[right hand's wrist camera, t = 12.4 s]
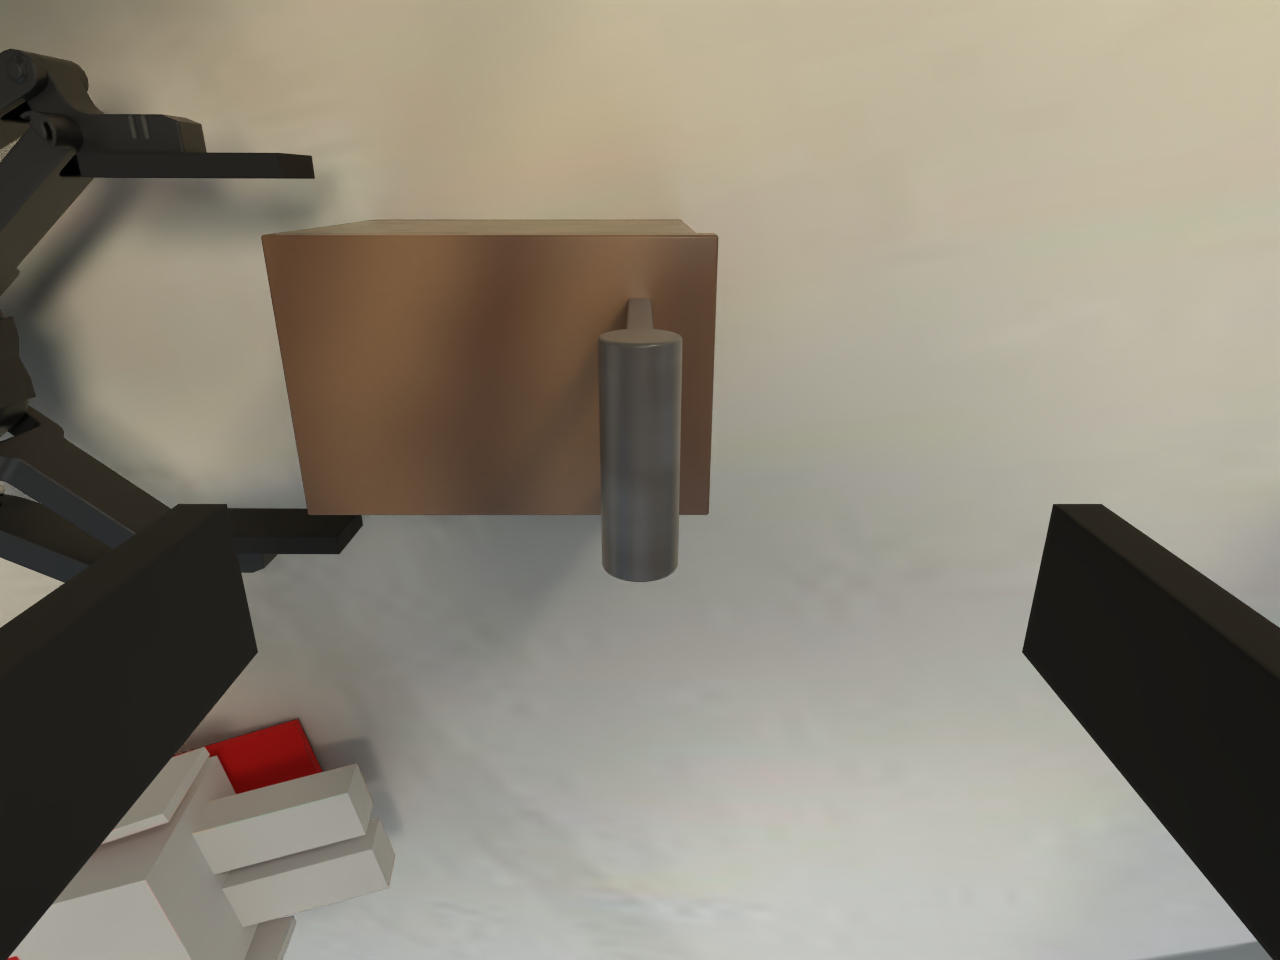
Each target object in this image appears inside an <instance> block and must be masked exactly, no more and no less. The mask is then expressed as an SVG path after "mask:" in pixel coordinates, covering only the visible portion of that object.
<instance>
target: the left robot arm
mask: <svg viewBox="0 0 1280 960" xmlns="http://www.w3.org/2000/svg"><path fill="white" fill-rule="evenodd" d="M88 87H89V86H88V78H87V76H86V74H85V72H84V71H83V70H82V68H81V67H80V66H79V65H77V64H75V63H74V62H72V61H67V60H63V59H58V58H54V57H49V56H44V55H40V54H35V53H30V52H26V51H21V50H15V49H8V50H5V51H3V52H1V53H0V149H2V148H4V147H5V146H7V145H8V144H10V143H12V142H13V141H15V140H16V139H18V138H19V137H21V136H22V137H21V138H20V139H19V141H18V142H17V143H16V144H15V145H14V147H13V148H12V149H11V150H10V151H9V153H8V154H7V155H6V156H5V158H4V159H3V160H2V161H1V162H0V296H1V295H2V293H3V292H4V291H5V290H6V289H7V288H8V287H9V285H10V284H11V283H12V282H13V281H14V280H15V278H16V277H17V276H18V275H19V270H18V269H17V266H18V265H19V264H20V263H21V261H22V260H23V259H24V258H25V257H26V256H27V254H28V253H29V252H30V251H31V250H32V249H33V248H34V246H35V245H36V244H37V243H38V242H39V241H40V240H41V238H42V237H43V236H44V235H45V234H46V233H47V231H48V230H49V229H50V228H51V227H52V226H53V225H54V223H55V222H56V221H57V220H58V219H59V218H60V216H61V215H62V214H63V213H64V212H65V211H66V210H67V208H68V207H69V206H70V205H71V204H72V203H73V201H74V200H75V199H76V198H77V197H78V196H79V195H80V193H81V192H82V191H83V190H84V189H85V188H86V187H87V185H88V184H89V183H90V182H91V181H92V180H93V178H94V177H101V178H298V179H315V177H314V170H313V162H312V156H308V155H296V154H284V153H206V147H205V142H204V136H203V131H202V125H201V124H199V123H197V122H194V121H192V120H189V119H187V118H182V117H175V116H168V115H158V114H145V115H143V114H133V115H131V114H104V113H103V112H101V111H100V110H99V109H98V108H97V107H96V106H95V105H94V103H93V102H92V101H91V99H90V97H89V95H88V93H87V90H88ZM33 397H36V396H35V392H34V389H33V385H32V382H31V378H30V376H29V374H28V373H27V371H26V369H25V367H24V365H23V364H22V362H21V360H20V358H19V337H18V333H17V330H16V326H15V323H14V319H13V317H5V316H4V314H3V313H2V311H1V310H0V437H1V436H2V435H3V434H4V433H6V432H7V431H8V432H9V433H11V434H12V435H14V437H11V438H9V439H6V440H4V441H0V481H5V482H7V483H9V484H11V485H12V486H14V487H15V488H17V489H18V490H20V491H22V492H23V493H25V494H26V495H28V496H30V497H31V498H33V499H34V500H36V501H37V502H39V503H37V502H34V501H31V500H28V499H25V498H21V497H17V496H12V495H6V494H5V490H4V487H3V486H2V485H0V557H1V558H3V559H6V560H8V561H11V562H14V563H16V564H19V565H21V566H24V567H26V568H29V569H31V570H34V571H36V572H39V573H42V574H44V575H47V576H49V577H52V578H54V579H57V580H59V581H62V582H64V583H66V582H67V581H69V580H70V579H71V578H73V577H74V576H76V575H77V574H79V573H80V572H82V571H83V570H84V569H86V568H87V567H89V566H90V565H92V564H93V563H95V562H96V561H97V560H99V559H100V558H102V557H103V556H105V555H106V554H107V553H109V552H110V551H112V550H113V549H115V548H116V547H118V546H119V545H120V544H122V543H123V542H125V541H126V540H128V539H129V538H131V537H132V536H133V535H135V534H136V533H138V532H139V531H141V530H142V529H143V528H145V527H146V526H148V525H149V524H151V523H152V522H154V521H155V520H156V519H158V518H159V517H161V516H162V515H164V514H165V513H166V512H168V511H169V510H171V509H170V508H169V507H167V506H166V505H164V504H163V503H161V502H160V501H158V500H157V499H155V498H154V497H152V496H151V495H149V494H148V493H146V492H145V491H143V490H142V489H140V488H138V487H137V486H135V485H134V484H132V483H131V482H129V481H128V480H126V479H125V478H123V477H122V476H120V475H119V474H117V473H116V472H114V471H113V470H111V469H110V468H108V467H107V466H105V465H104V464H102V463H101V462H99V461H98V460H96V459H95V458H93V457H92V456H90V455H89V454H87V453H86V452H84V451H82V450H81V449H79V448H78V447H76V446H75V445H73V444H72V443H70V442H69V441H67V440H66V439H65V438H64V431H63V429H62V428H61V427H60V426H59V425H58V424H56V423H55V422H53V421H52V420H50V419H49V418H47V417H46V416H44V415H43V414H41V413H39V412H38V411H36V410H35V409H33V408H32V407H30V406H29V405H28V402H29V399H30V398H33ZM40 503H41V504H40ZM228 513H229V518H230V522H231V527H232V532H233V537H234V541H235V546H236V551H237V556H238V560H239V565H240V570H241V572H244V573H253V572H255V571H258V570H261V569H263V568H265V567H266V566H267V565H268V564H269V563H270V562H271V561H272V560H273V559H274V558H275V557H276V556H277V555H278V554H340V553H341V551H342V550H343V549H344V548H345V547H346V545H347V544H348V543H349V542H350V540H351V539H352V538H353V537H354V535H355V534H356V533H357V532H358V531H359V529H360V528H361V527H362V526H363V523H362V516H361V515H309V514H308V510H307V509H257V508H228Z"/></svg>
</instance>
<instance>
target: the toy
mask: <svg viewBox="0 0 1280 960" xmlns="http://www.w3.org/2000/svg"><path fill="white" fill-rule="evenodd" d="M373 804H374V803H373V801H372V798H371V796H370V793H369V791H368V789H367V786H366V784H365V782H364V779H363V777H362V774H361V772H360V770H359V767H358V765H357V763H355V764H351V765H348V766H344V767H340V768H336V769H332V770H328V771H324V772H323V771H322V769H321V767H320V765H319V763H318V761H317V759H316V757H315V754H314V752H313V750H312V748H311V746H310V744H309V742H308V740H307V737H306V735H305V733H304V731H303V729H302V727H301V725H300V723H299V721H298V719H297V720H293V721H290V722H286V723H283V724H280V725H276V726H273V727H269V728H266V729H262V730H259V731H256V732H252V733H249V734H245V735H242V736H239V737H235V738H232V739H228V740H225V741H222V742H218V743H215V744H211V745H208V746H204V747H201V748H198V749H194V750H191V751H187V752H184V753H181V754H177V755H174V756H173V757H172V758H171V759H170V760H169V762H168V763H167V764H166V765H165V767H164V768H163V769H162V770H161V771H160V773H159V774H158V775H157V776H156V778H155V779H154V780H153V781H152V782H151V784H150V785H149V786H148V787H147V789H146V790H145V791H144V792H143V794H142V795H141V796H140V797H139V798H138V800H137V801H136V802H135V803H134V805H133V806H132V807H131V808H130V809H129V811H128V812H127V813H126V814H125V816H124V817H123V818H122V819H121V820H120V822H119V823H118V824H117V825H116V827H115V828H114V829H113V830H112V832H111V833H110V834H109V835H108V836H107V838H106V839H105V840H104V841H103V843H102V844H101V845H100V846H99V847H98V849H97V850H96V851H95V852H94V854H93V855H92V856H91V857H90V858H89V860H88V861H87V862H86V863H85V865H84V866H83V867H82V868H81V870H80V871H79V872H78V873H77V874H76V876H75V877H74V878H73V879H72V881H71V882H70V883H69V884H68V885H67V887H66V888H65V889H64V890H63V892H62V893H61V894H60V895H59V896H58V898H57V899H56V900H55V901H54V903H53V904H52V905H51V906H50V908H49V909H48V910H47V911H46V912H45V914H44V915H43V916H42V917H41V919H40V920H39V921H38V922H37V923H36V925H35V926H34V927H33V928H32V930H31V931H30V932H29V933H28V934H27V936H26V937H25V938H24V939H23V941H22V942H21V943H20V944H19V946H18V947H17V948H16V949H15V950H14V952H13V953H12V954H11V955H10V957H9V958H8V959H7V960H283V958H284V955H285V952H286V950H287V947H288V944H289V942H290V939H291V936H292V933H293V931H294V928H295V925H296V921H295V918H294V916H289V917H284V916H287V915H291V914H295V913H298V912H302V911H306V910H310V909H313V908H317V907H321V906H324V905H328V904H332V903H336V902H339V901H343V900H347V899H350V898H354V897H358V896H362V895H365V894H369V893H373V892H376V891H380V890H384V889H387V888H389V884H390V879H391V874H392V870H393V865H394V860H395V853H394V851H393V848H392V846H391V844H390V841H389V839H388V836H387V834H386V832H385V829H384V827H383V825H382V822H381V820H380V818H376V819H372V820H369V819H370V816H371V812H372V808H373ZM280 917H284V918H280ZM276 918H278V919H276ZM272 919H273V920H272Z"/></svg>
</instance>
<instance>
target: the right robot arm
mask: <svg viewBox="0 0 1280 960" xmlns="http://www.w3.org/2000/svg"><path fill="white" fill-rule="evenodd" d="M257 653H258V651H257V646H256V641H255V636H254V632H253V627H252V622H251V617H250V613H249V608H248V603H247V598H246V594H245V589H244V584H243V579H242V575H241V570H240V565H239V560H238V556H237V551H236V546H235V541H234V537H233V532H232V527H231V522H230V518H229V513H228V508H227V504H178V505H177V506H175V507H174V508H172V509H171V510H169V511H168V512H166V513H165V514H164V515H162V516H161V517H159V518H158V519H156V520H155V521H154V522H152V523H151V524H149V525H148V526H146V527H145V528H143V529H142V530H141V531H139V532H138V533H136V534H135V535H133V536H132V537H131V538H129V539H128V540H126V541H125V542H123V543H122V544H120V545H119V546H118V547H116V548H115V549H113V550H112V551H110V552H109V553H107V554H106V555H105V556H103V557H102V558H100V559H99V560H97V561H96V562H95V563H93V564H92V565H90V566H89V567H87V568H86V569H84V570H83V571H82V572H80V573H79V574H77V575H76V576H74V577H73V578H71V579H70V580H69V581H67V582H66V583H64V584H63V585H61V586H60V587H59V588H57V589H56V590H54V591H53V592H51V593H50V594H48V595H47V596H46V597H44V598H43V599H41V600H40V601H38V602H37V603H35V604H34V605H33V606H31V607H30V608H28V609H27V610H25V611H24V612H23V613H21V614H20V615H18V616H17V617H15V618H14V619H12V620H11V621H10V622H8V623H7V624H5V625H4V626H2V627H1V628H0V960H7V959H8V958H9V957H10V955H11V954H12V953H13V952H14V950H15V949H16V948H17V947H18V946H19V944H20V943H21V942H22V941H23V939H24V938H25V937H26V936H27V934H28V933H29V932H30V931H31V930H32V928H33V927H34V926H35V925H36V923H37V922H38V921H39V920H40V919H41V917H42V916H43V915H44V914H45V912H46V911H47V910H48V909H49V908H50V906H51V905H52V904H53V903H54V901H55V900H56V899H57V898H58V896H59V895H60V894H61V893H62V892H63V890H64V889H65V888H66V887H67V885H68V884H69V883H70V882H71V881H72V879H73V878H74V877H75V876H76V874H77V873H78V872H79V871H80V870H81V868H82V867H83V866H84V865H85V863H86V862H87V861H88V860H89V858H90V857H91V856H92V855H93V854H94V852H95V851H96V850H97V849H98V847H99V846H100V845H101V844H102V843H103V841H104V840H105V839H106V838H107V836H108V835H109V834H110V833H111V832H112V830H113V829H114V828H115V827H116V825H117V824H118V823H119V822H120V820H121V819H122V818H123V817H124V816H125V814H126V813H127V812H128V811H129V809H130V808H131V807H132V806H133V805H134V803H135V802H136V801H137V800H138V798H139V797H140V796H141V795H142V794H143V792H144V791H145V790H146V789H147V787H148V786H149V785H150V784H151V782H152V781H153V780H154V779H155V778H156V776H157V775H158V774H159V773H160V771H161V770H162V769H163V768H164V767H165V765H166V764H167V763H168V762H169V760H170V759H171V758H172V757H173V756H174V754H175V753H176V752H177V751H178V749H179V748H180V747H181V746H182V744H183V743H184V742H185V741H186V740H187V738H188V737H189V736H190V735H191V733H192V732H193V731H194V730H195V729H196V727H197V726H198V725H199V724H200V722H201V721H202V720H203V719H204V718H205V716H206V715H207V714H208V713H209V711H210V710H211V709H212V708H213V706H214V705H215V704H216V703H217V702H218V700H219V699H220V698H221V697H222V695H223V694H224V693H225V692H226V691H227V689H228V688H229V687H230V686H231V684H232V683H233V682H234V681H235V680H236V678H237V677H238V676H239V675H240V673H241V672H242V671H243V670H244V668H245V667H246V666H247V665H248V664H249V662H250V661H251V660H252V659H253V657H254V656H255V655H256V654H257ZM1022 653H1023V654H1024V655H1025V656H1026V657H1027V659H1028V660H1029V661H1030V662H1031V664H1032V665H1033V666H1034V667H1035V668H1036V670H1037V671H1038V672H1039V673H1040V675H1041V676H1042V677H1043V678H1044V680H1045V681H1046V682H1047V683H1048V684H1049V686H1050V687H1051V688H1052V689H1053V691H1054V692H1055V693H1056V694H1057V695H1058V697H1059V698H1060V699H1061V700H1062V702H1063V703H1064V704H1065V705H1066V706H1067V708H1068V709H1069V710H1070V711H1071V713H1072V714H1073V715H1074V716H1075V718H1076V719H1077V720H1078V721H1079V722H1080V724H1081V725H1082V726H1083V727H1084V729H1085V730H1086V731H1087V732H1088V733H1089V735H1090V736H1091V737H1092V738H1093V740H1094V741H1095V742H1096V743H1097V744H1098V746H1099V747H1100V748H1101V749H1102V751H1103V752H1104V753H1105V754H1106V756H1107V757H1108V758H1109V759H1110V760H1111V762H1112V763H1113V764H1114V765H1115V767H1116V768H1117V769H1118V770H1119V771H1120V773H1121V774H1122V775H1123V776H1124V778H1125V779H1126V780H1127V781H1128V782H1129V784H1130V785H1131V786H1132V787H1133V789H1134V790H1135V791H1136V792H1137V794H1138V795H1139V796H1140V797H1141V798H1142V800H1143V801H1144V802H1145V803H1146V805H1147V806H1148V807H1149V808H1150V809H1151V811H1152V812H1153V813H1154V814H1155V816H1156V817H1157V818H1158V819H1159V820H1160V822H1161V823H1162V824H1163V825H1164V827H1165V828H1166V829H1167V830H1168V832H1169V833H1170V834H1171V835H1172V836H1173V838H1174V839H1175V840H1176V841H1177V843H1178V844H1179V845H1180V846H1181V847H1182V849H1183V850H1184V851H1185V852H1186V854H1187V855H1188V856H1189V857H1190V858H1191V860H1192V861H1193V862H1194V863H1195V865H1196V866H1197V867H1198V868H1199V870H1200V871H1201V872H1202V873H1203V874H1204V876H1205V877H1206V878H1207V879H1208V881H1209V882H1210V883H1211V884H1212V885H1213V887H1214V888H1215V889H1216V890H1217V892H1218V893H1219V894H1220V895H1221V896H1222V898H1223V899H1224V900H1225V901H1226V903H1227V904H1228V905H1229V906H1230V908H1231V909H1232V910H1233V911H1234V912H1235V914H1236V915H1237V916H1238V917H1239V919H1240V920H1241V921H1242V922H1243V923H1244V925H1245V926H1246V927H1247V928H1248V930H1249V931H1250V932H1251V933H1252V934H1253V936H1254V937H1255V938H1256V939H1257V941H1258V942H1259V943H1260V944H1261V946H1262V947H1263V948H1264V949H1265V950H1266V952H1267V953H1268V954H1269V955H1270V957H1271V958H1272V959H1273V960H1280V628H1279V627H1278V626H1276V625H1275V624H1273V623H1272V622H1270V621H1269V620H1268V619H1266V618H1265V617H1263V616H1262V615H1260V614H1259V613H1257V612H1256V611H1255V610H1253V609H1252V608H1250V607H1249V606H1247V605H1246V604H1245V603H1243V602H1242V601H1240V600H1239V599H1237V598H1236V597H1234V596H1233V595H1232V594H1230V593H1229V592H1227V591H1226V590H1224V589H1223V588H1221V587H1220V586H1219V585H1217V584H1216V583H1214V582H1213V581H1211V580H1210V579H1209V578H1207V577H1206V576H1204V575H1203V574H1201V573H1200V572H1198V571H1197V570H1196V569H1194V568H1193V567H1191V566H1190V565H1188V564H1187V563H1185V562H1184V561H1183V560H1181V559H1180V558H1178V557H1177V556H1175V555H1174V554H1173V553H1171V552H1170V551H1168V550H1167V549H1165V548H1164V547H1162V546H1161V545H1160V544H1158V543H1157V542H1155V541H1154V540H1152V539H1151V538H1149V537H1148V536H1147V535H1145V534H1144V533H1142V532H1141V531H1139V530H1138V529H1137V528H1135V527H1134V526H1132V525H1131V524H1129V523H1128V522H1126V521H1125V520H1124V519H1122V518H1121V517H1119V516H1118V515H1116V514H1115V513H1113V512H1112V511H1111V510H1109V509H1108V508H1106V507H1105V506H1103V505H1102V504H1053V508H1052V513H1051V518H1050V522H1049V527H1048V532H1047V537H1046V541H1045V546H1044V551H1043V556H1042V560H1041V565H1040V570H1039V575H1038V579H1037V584H1036V589H1035V594H1034V598H1033V603H1032V608H1031V613H1030V617H1029V622H1028V627H1027V632H1026V636H1025V641H1024V646H1023V651H1022Z"/></svg>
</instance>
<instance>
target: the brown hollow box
mask: <svg viewBox="0 0 1280 960" xmlns="http://www.w3.org/2000/svg"><path fill="white" fill-rule="evenodd" d="M282 233H696V232H694V231H693V230H692V229H691V228H690V227H689V226H687V225H686V224H685V223H684V222H683V221H682V220H370V221H362V222H355V223H348V224H341V225H333V226H326V227H319V228H311V229H304V230H297V231H289V232H282Z"/></svg>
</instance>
